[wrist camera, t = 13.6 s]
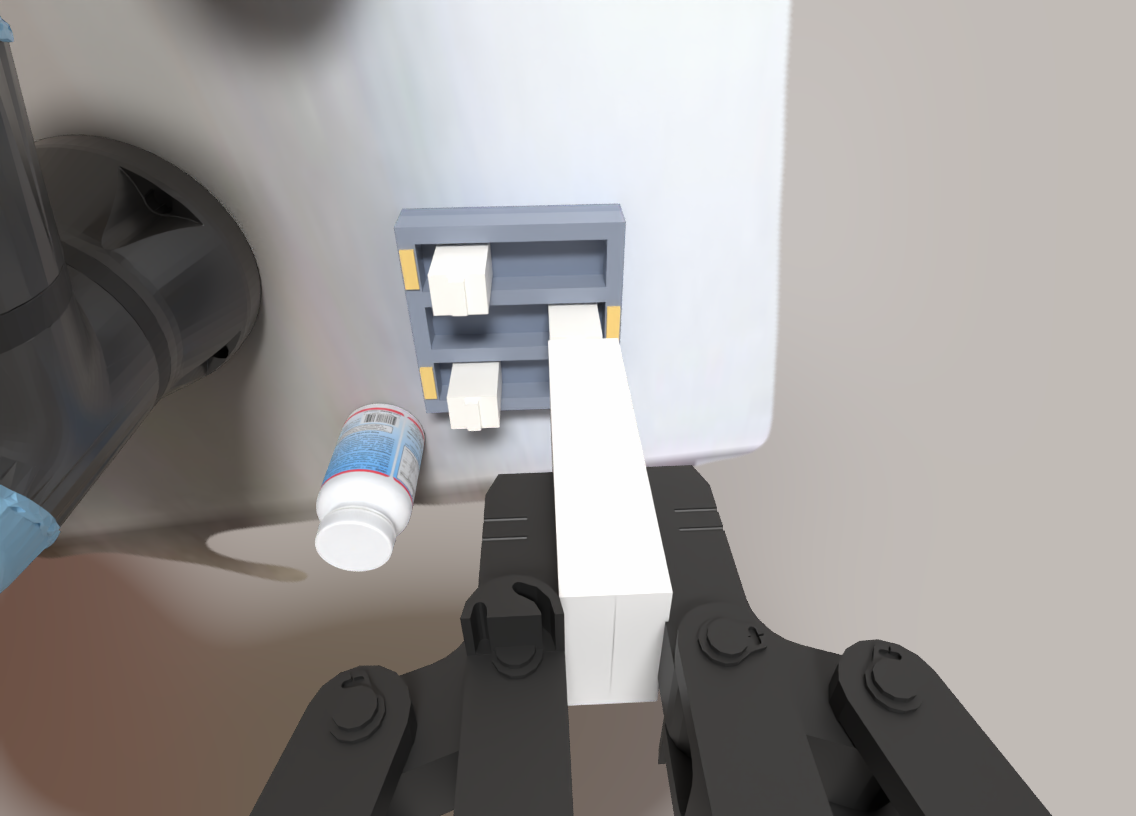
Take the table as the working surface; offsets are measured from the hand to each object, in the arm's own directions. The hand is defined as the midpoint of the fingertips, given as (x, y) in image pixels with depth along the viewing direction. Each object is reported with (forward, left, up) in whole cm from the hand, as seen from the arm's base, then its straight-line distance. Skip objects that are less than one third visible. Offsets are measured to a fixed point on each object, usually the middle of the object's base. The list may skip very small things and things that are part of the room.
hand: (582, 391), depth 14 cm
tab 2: (-5, -16, -25) cm, 30 cm away
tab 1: (-5, -7, -25) cm, 27 cm away
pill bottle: (-13, -22, -27) cm, 37 cm away
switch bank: (-3, -12, -26) cm, 29 cm away
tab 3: (+1, -11, -25) cm, 28 cm away
